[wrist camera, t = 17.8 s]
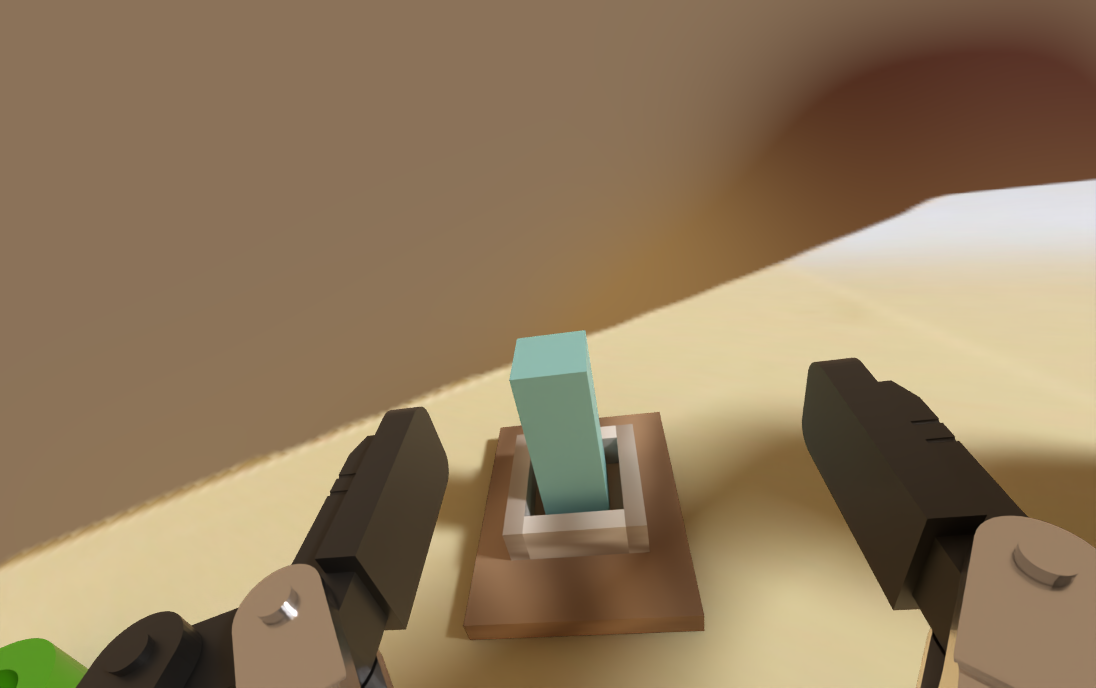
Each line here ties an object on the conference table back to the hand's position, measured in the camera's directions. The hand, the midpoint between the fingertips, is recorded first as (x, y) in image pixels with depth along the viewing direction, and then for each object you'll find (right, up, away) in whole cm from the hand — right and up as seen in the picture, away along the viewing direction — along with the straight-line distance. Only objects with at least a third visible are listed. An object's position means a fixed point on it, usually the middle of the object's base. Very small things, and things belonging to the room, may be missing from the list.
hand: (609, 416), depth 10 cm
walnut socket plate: (+1, -10, +23) cm, 25 cm away
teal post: (+1, -9, +22) cm, 24 cm away
